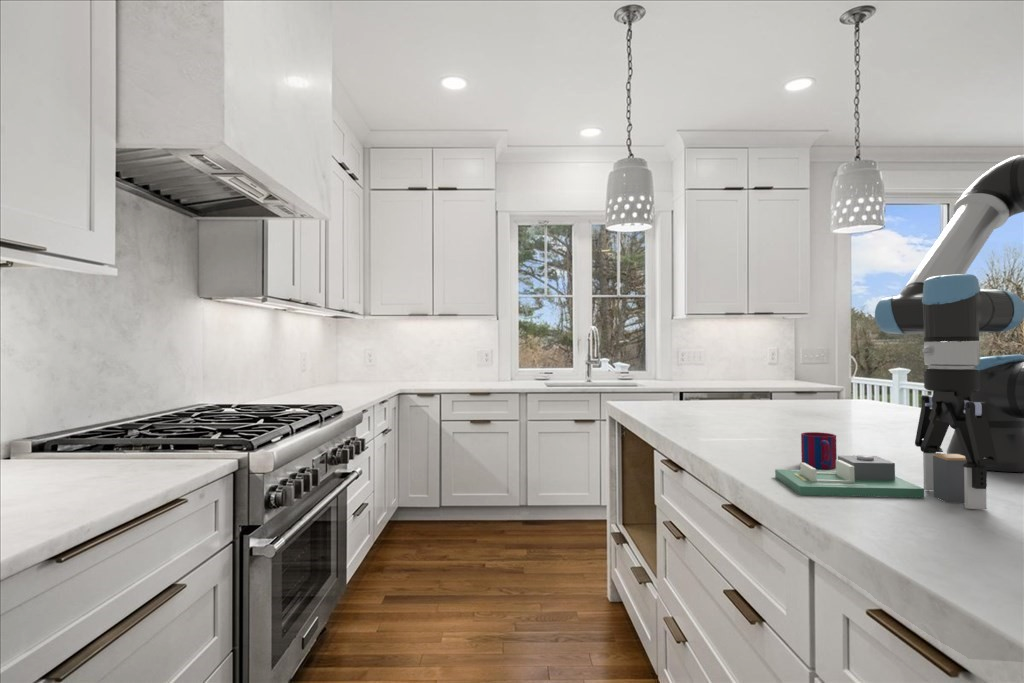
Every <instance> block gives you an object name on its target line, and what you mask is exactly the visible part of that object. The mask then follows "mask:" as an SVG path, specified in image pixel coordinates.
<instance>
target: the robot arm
mask: <svg viewBox="0 0 1024 683" xmlns="http://www.w3.org/2000/svg"><path fill="white" fill-rule="evenodd" d="M1020 213H1024V154H1019V155H1015V156H1011V157H1009V158H1007V159H1005V160H1003V161H1001V162H999V163H998V164H995V166H992V167H991V168H990V169H989V170H987V171H986V172H985V173H983V174H982V175H981V176H979V177H978V178H977V179H976V180H975V181H973V183H972V184H970V185H969V187H968V188H967V189H965V191H964V192H963V193H962V194H961V196H960V197H959V198H958V200H957V201H956V203H954V206H953V217H952V218H951V219H950V220H949V222H948V223H947V225H946V226H945V228H944V229H943V231H942V232H941V234H940V235H939V236H938V239H937V240H936V241H935V242H934V244H933V246H932V247H931V248H930V250H929V251H928V252H927V254H926V255H925V257H924V258H923V260H922V261H921V263H920V264H919V266H918V267H917V269H916V270H915V271H914V273H913V274H912V276H911V277H910V279H909V281H908V282H907V283H906V285H905V286H904V287H903V288H902V290H901V292H900V293H899V294H898V295H897V296H895V295H891V296H888V297H887V296H886V297H884V298H881V299H880V300H879V301H878V302H877V303H876V306H875V309H874V319H875V323H876V325H877V326H878V328H879V329H880V331H882V332H884V333H886V334H891V335H892V334H893V335H905V336H906V335H919V334H920V335H921V334H923V348H922V349H921V352H922V353H923V360H924V361H923V364H924V365H925V366H928V368H925V370H923V388H924V389H925V390H926V391H929V392H932V395H929V394H927V395H925V394H924V395H921V398H920V405H921V408H920V413H919V419H918V422H917V423H918V424H917V430H916V433H915V434H916V435H915V441H914V446H915V447H918V448H920V451H921V452H922V454H923V462H922V463H923V489H924V491H933V492H934V484H933V456H935V454H942V453H943V452H944V450H943V449H942V448H941V447H942V444H943V441H944V439H945V437H946V435H947V432H948V429H949V427H950V428H951V429H953V430H954V431H953V434H952V436H951V439H950V441H949V444H948V446H947V449H946V454H960V455H963V456H965V458H966V460H967V463H965V464H964V465H963V466H964V493H965V503H964V508H965V509H972V510H987V509H988V508H987V504H988V503H987V501H988V500H987V485H988V484H987V483H988V481H987V474H988V472H987V471H995V472H1005V473H1006V472H1008V473H1009V472H1010V473H1024V354H1006V355H1005V354H1003V355H993V356H981V353H980V352H981V351H980V348H981V347H980V333H988V334H989V333H990V334H992V333H996V334H998V333H999V334H1000V333H1003V332H1008V331H1011V330H1013V329H1015V328H1017V326H1019V325H1020V324H1021V323H1022V321H1023V319H1024V301H1023V299H1022V298H1021V297H1020V296H1019V295H1018V294H1016V293H1015V292H1012V291H1010V290H1004V289H1001V288H993V289H991V288H988V289H987V288H981V287H980V284H979V278H978V277H977V276H976V275H974V274H972V273H971V274H967V271H968V270H969V268H970V267H971V266H972V263H973V262H974V261H975V259H976V258H977V256H978V255H979V253H980V252H981V250H982V248H983V247H984V246H985V244H986V243H987V241H988V240H989V238H990V237H991V235H992V234H993V232H994V230H997V229H999V228H1001V227H1002V226H1004V224H1006V222H1007V221H1008V219H1009V218H1011V217H1012V216H1014V215H1018V214H1020Z"/></svg>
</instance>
